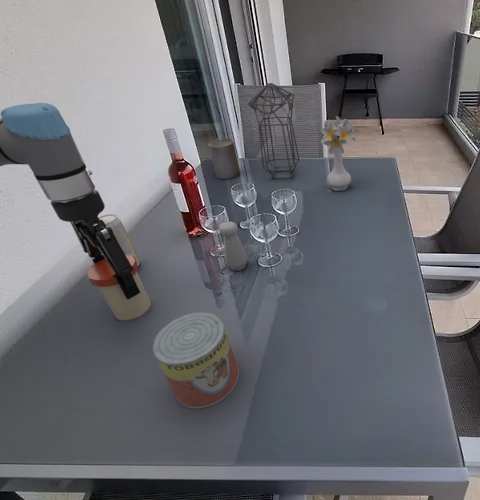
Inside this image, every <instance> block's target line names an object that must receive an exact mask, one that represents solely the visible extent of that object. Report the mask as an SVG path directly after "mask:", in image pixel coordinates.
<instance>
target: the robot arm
mask: <svg viewBox="0 0 480 500" xmlns="http://www.w3.org/2000/svg"><path fill="white" fill-rule="evenodd" d="M0 117H1V118H0V167H2V166H9V165H28V167H29V169H30V171H32V173H33V176H34V177H35V180H36V181H37V183H38V185H39V186H40V187H39V188H40V189H41V190H42V192H43V194H44V195H45V197H46V199H47V200H49V201H50V205H51V207H52V209H53V210H54V211H55V214H56V215H57V217H58V219H59V220H61V221H63V222H67V223H70V225H71V227H72V229H73V231H74V233H75V235H76V237H77V240H78V242H79V243H80V246H81V247H82V251H83V252H84V253H85V254H88V257H89V258H90V259H91V260H92V262H93V265H94V264H95V263H97V262H99V261H101V260H103V259H106V261H107V262H108V264H109V265H110V266H111V268H112V269H113V271H114V272H115V274H114V275H112V277H113V278H116V280H117V282H118V284H119V285H120V287H121V289H122V291H123V293H124V295H125V297H126V299H128V300H129V299H130V298H132V297H134V296H136V295H137V294H139V293H141V292H140V290H139V288H138V286H137V284H136V282H135V280H134V278H133V276H132V274H131V271H133V270H134V269H133V267H132V266H131V264H130V262H129V260H128V259H127V257H126V255H125V254H124V252H123V250H122V248H121V247H120V245H119V243H118V241H117V240H116V238H115V235H114V233H113V231H112V228H110V227H107V228H106V224H105V223H104V221H103V220H102V219H101V220H100V219H99V218H98V217H99V215H100V214H101V213H102V212H103V211H104V210H105V207H106V206H105V203H104V201H103V199H102V196H101V194H100V191H98V189H96V184H95V183H94V180H93V178H92V177H91V176H92V175H93V171H92V170H90V169H88V168H87V165H86V163H85V161H84V160H83V159H84V158H83V157H82V155H81V153H80V150H79V148H78V146H77V144H76V141H75V140H74V138H73V135H72V133H71V129H70V126H69V125H67V123H66V121H65V119H64V118H63V116H62V114H61V113H60V111H59V109H58V108H57V107H56V106H55V105H53V104H51V103H48V102H35V103H23V104H18V105H13V106H9V107H6V108H3V109H2V110H1V111H0Z"/></svg>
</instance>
